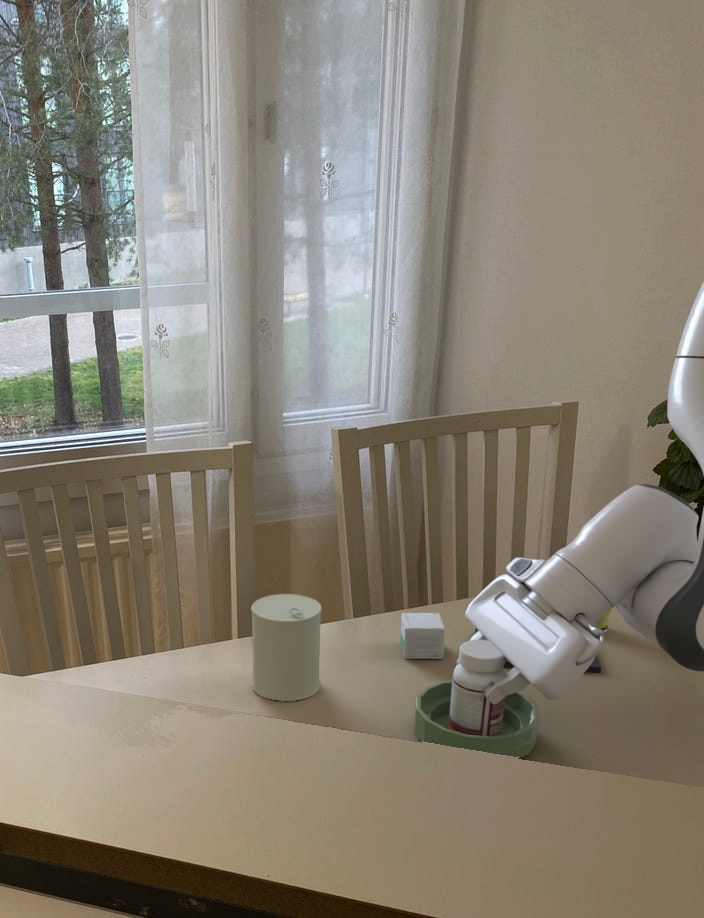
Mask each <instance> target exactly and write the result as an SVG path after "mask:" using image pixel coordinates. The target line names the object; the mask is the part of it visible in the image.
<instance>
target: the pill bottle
mask: <svg viewBox="0 0 704 918" xmlns="http://www.w3.org/2000/svg"><path fill="white" fill-rule="evenodd" d="M470 640H471V639H470ZM470 640H467V641H465V642H462V644H461V645H460V646H459V653H458V659H459V664H458V665H457V664H456V666H455V667H454V669H453V674H452V690H451V702H450V717H449V730H453V731H457V732H460V733H464V734H467V735H478V736H499V735H500V734H501V729H502V721H503V712H504V704H505V697H506V696H505V697H504V698H503V699H502V700H501V701H500V702H498V703H497V704H492V703H491V702H490V701H489V700H488V699H487V698H486V697H485V696H484V694H483V693H482V690H483V688H484V687H487V685H488V684H489V683H490V682H491V681H493V682H494V683H497V682H499V681H501V680H503V679H505V678H507V677H508V674H507V673H508V672H507V671H506V669H505V667H504V664H505V657H504V655H503V654H502V653H501V652H500V651H499V650H498V649H497V648H496V647H495V646H494V645H493V644H492V643H491V642H490V641H487V640H471V641H470Z"/></svg>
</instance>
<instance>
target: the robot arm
mask: <svg viewBox="0 0 704 918" xmlns="http://www.w3.org/2000/svg"><path fill="white" fill-rule="evenodd" d="M668 383H669V384H668V389H667V391H668V392H667V407H666V409H667V411H666V416H667V420H668V422H669V425H670V427H671V429H672V430H673V432H674V434H676V436H677V438H678V439H680V441H682V442H683V443H684V445H685V446H686V447H687V448H688V449H689V451H690V452H691V453H692V454H693V456H694V458H695V459H696V461H697V463H698V465H699V466H700V469H701V471H702V475H703V476H704V280H703V282H702V284H701V286H700V288H699V290H698V293H697V295H696V297H695V299H694V302H693V304H692V306H691V309H690V312H689V314H688V316H687V320H686V323H685V324H684V328H683V331H682V334H681V337H680V341H679V343H678V347H677V351H676V355H675V359H674V362H673V366H672V370H671V374H670V378H669V382H668ZM702 509H703V510H702V513H701V514H702V515H701V520H700V526H699V532H697V528H698V527H697V526H698V522H699V515H698V513H697V512H696V510H695V508H693V506H691V504H689V503H688V502H687V501H685V500H684V499H682V498H681V497H680V496H678V495H677V494H675V493H673V492H670V491H668V490H667V489H666V488H664V487H660V486H658V485H653V484H648V483H640V484H634V485H633V486H631V487H629V488H628V489H626V490H624V491H623V492H621V494H618V496H616V497H615V498H614V499H612V500H611V501H610V502H609V503H608V504H606V505H605V506H603V508H602V509H600V510H599V511H598V512H597V513H596V514H595V515H594V516H592V517H591V519H589V520H588V521H587V522H586V523H585V524H584V525H583V526H582V528H581V529H580V531H579V532H578V534H577V535H576V537H575V538H574V539H573V540H572V541H571V542H570V543H569V544H567V545H566V546H564V547H562V548H560V549H559V550H557V551H556V552H555V553H553V555H552V556H551V557H549V558H548V559H547V560H546V559H540V558H539V559H538V558H537V559H536V558H526V557H521V556H520V557H519V556H518V557H515V558H513V559H512V560H511V561H510V562H509V563H508V564H507V565H506V567H505V570H506V572H507V573H504V574H501V575H499V576H497V577H496V578H494V579H493V580H492V581H491V582H490V583H489V584H488V585H487V586H486V587H485V588H483V589H482V591H480V592H479V593H478V595H477V596H476V597H474V599H472V601H470V603H469V604H468V606H467V608H466V610H465V612H464V617H465V619H466V620H467V621H468V622H469V623H470V624H471V625H472V626H473V627H474V629H475V628H476V629H477V630H478V632H477V633H476V634H475V633H474V634H473V635H472V636H471V638H470V639H469V641H471V640H487V641H490V642H491V643H492V644H493V645H494V646H495V647H496V648H497V649H498V650H499V651H500V652H501V653H502V654H503V655H504V657H505V658H506V659H507V660H508V661H509V662H510V663H511V664H512V665H513V666H514V667H511V669H510V670H509V671H508V672H506V673H507V678H505V679H503V680H501V681H499V682H497V683H494V682H493V681H491V682H490V683H489V684H488V685H487V687H484V688H483V690H482V693H483V694H484V696H485V697H486V698H487V699H488V700H489V701H490V702H491V703H492V704H497V703H498V702H500V701H501V700H502V699H503V698H504V697H505V696H506V695H510V694H513V693H516V692H521V691H524V690H526V688H527V687H528V686H529V685H530V684H531V685H532V686H533V687H534V688H535V689H536V690H537V691H538V692H539V693H540V694H541V695H542V696H543V697H544V698H545V699H546V700H548V701H553V700H556V699H559V698H562V697H563V696H564V695H565V694H566V693H567V692H568V691H569V690H570V689H571V688H572V687H573V686H574V685H575V684H576V683H577V681H578V680H579V679H581V677H582V676H583V675H584V674H585V673H586V672H585V671H586V670H587V669H588V668H589V666H590V665H591V664H592V662H593V661H594V659H595V656H596V655H597V656H598V655H599V653H601V651H603V649H604V644H605V635H606V634H605V633H606V632H605V633H604V631H603V630H602V629H601V628H600V627H599V626H596V625H595V624H596V623H597V622H598V621H599V620H600V619H602V618H603V617H604V616H605V615H606V614H607V613H608V612H609V611H610V610H613V609H614V608H616V609H617V611H618V612H619V613H620V615H621V617H622V618H623V620H624V621H625V623H627V625H628V626H630V627H631V628H632V629H633V630H635V631H636V632H638V633H639V634H641V636H643V637H644V638H645V639H647V640H649V641H650V642H652V643H653V644H655V645H656V646H658V647H659V648H661V649H662V650H663V651H664V652H665V653H666V654H667V655H668V656H669V657H670V658H671V659H673V660H674V661H675V662H676V663H677V664H678V665H680V666H681V667H683V668H685V669H688V670H691V671H695V672H703V673H704V507H703V508H702ZM697 533H698V534H697ZM697 535H698V536H697ZM610 612H611V611H610ZM588 631H589V632H590V633H589V632H588ZM455 663H456V666H457V665H458V664H459V658H457V659H456V662H455Z"/></svg>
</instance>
